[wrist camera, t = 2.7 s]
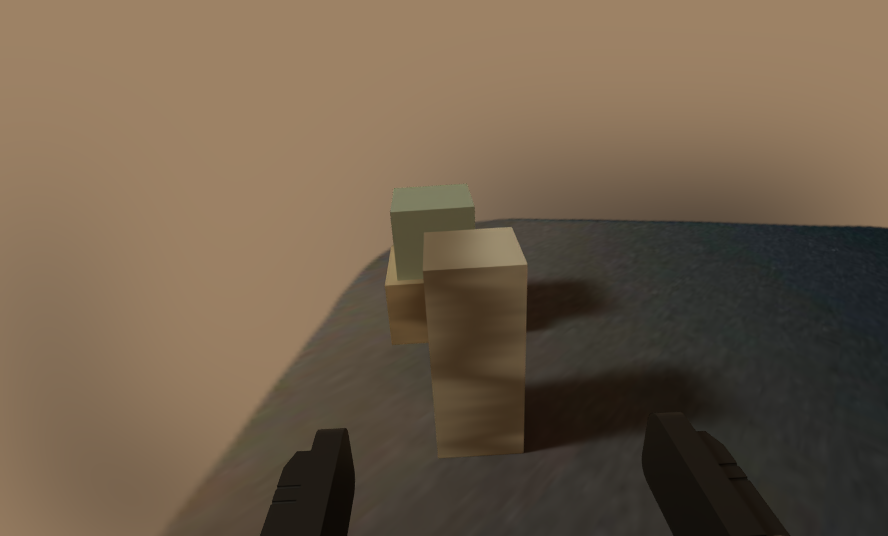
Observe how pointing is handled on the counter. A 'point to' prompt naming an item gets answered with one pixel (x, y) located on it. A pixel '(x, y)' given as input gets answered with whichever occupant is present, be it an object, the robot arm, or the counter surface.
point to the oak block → (405, 307)
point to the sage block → (426, 221)
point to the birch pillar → (476, 339)
